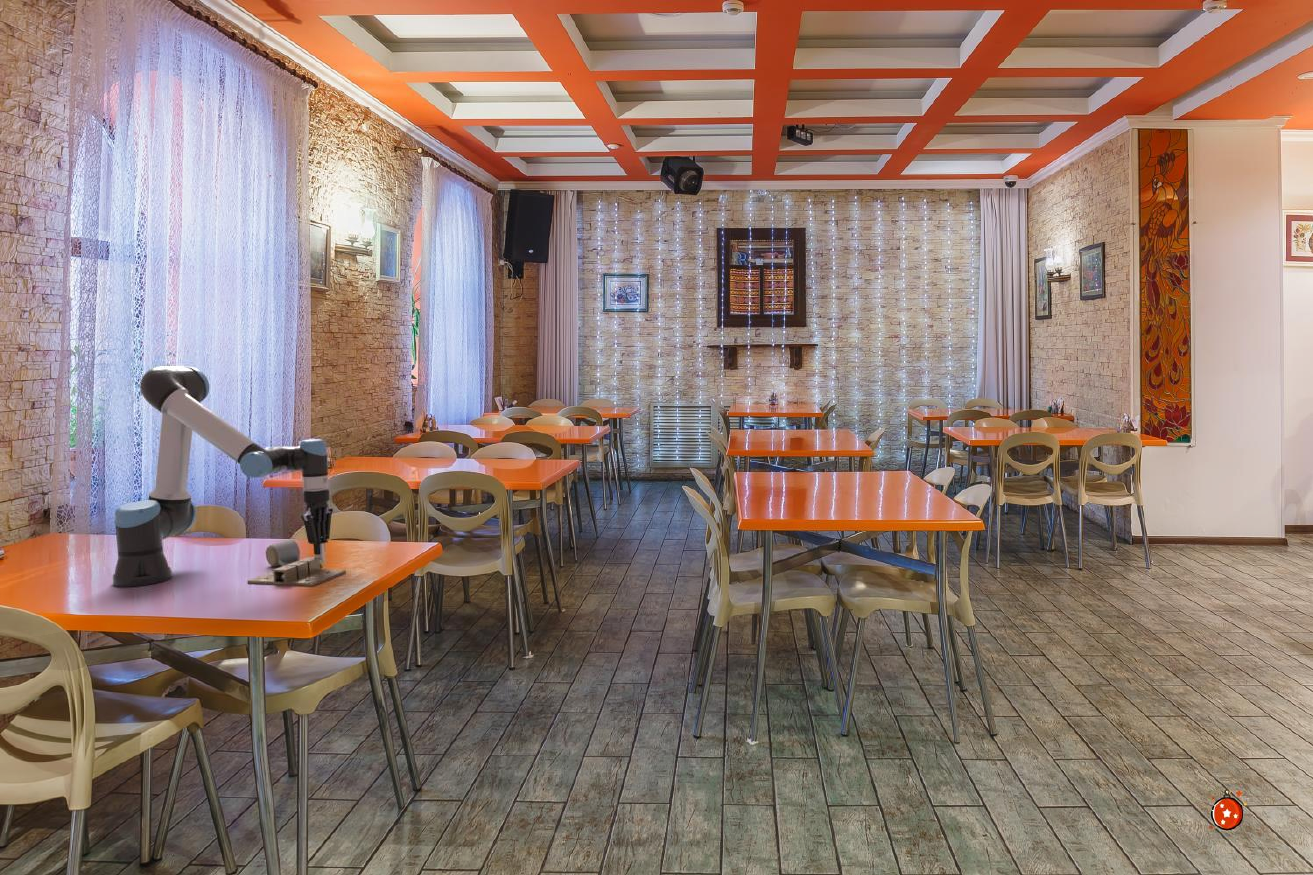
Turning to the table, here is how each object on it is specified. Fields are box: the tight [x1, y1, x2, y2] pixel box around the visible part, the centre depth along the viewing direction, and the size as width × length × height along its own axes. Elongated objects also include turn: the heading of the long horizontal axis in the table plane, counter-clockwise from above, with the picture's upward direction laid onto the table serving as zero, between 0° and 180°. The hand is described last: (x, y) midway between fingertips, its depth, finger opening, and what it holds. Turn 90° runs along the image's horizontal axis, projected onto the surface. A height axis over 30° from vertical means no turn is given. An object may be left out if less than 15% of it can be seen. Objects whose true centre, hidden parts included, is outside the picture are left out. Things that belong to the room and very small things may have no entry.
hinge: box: [247, 556, 347, 587], centre depth 255 cm, size 16×22×4 cm
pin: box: [280, 558, 325, 581], centre depth 257 cm, size 17×3×3 cm, turn 167°
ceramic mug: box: [265, 539, 301, 568], centre depth 272 cm, size 11×8×8 cm
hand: (320, 563), depth 266 cm, fingers closed
